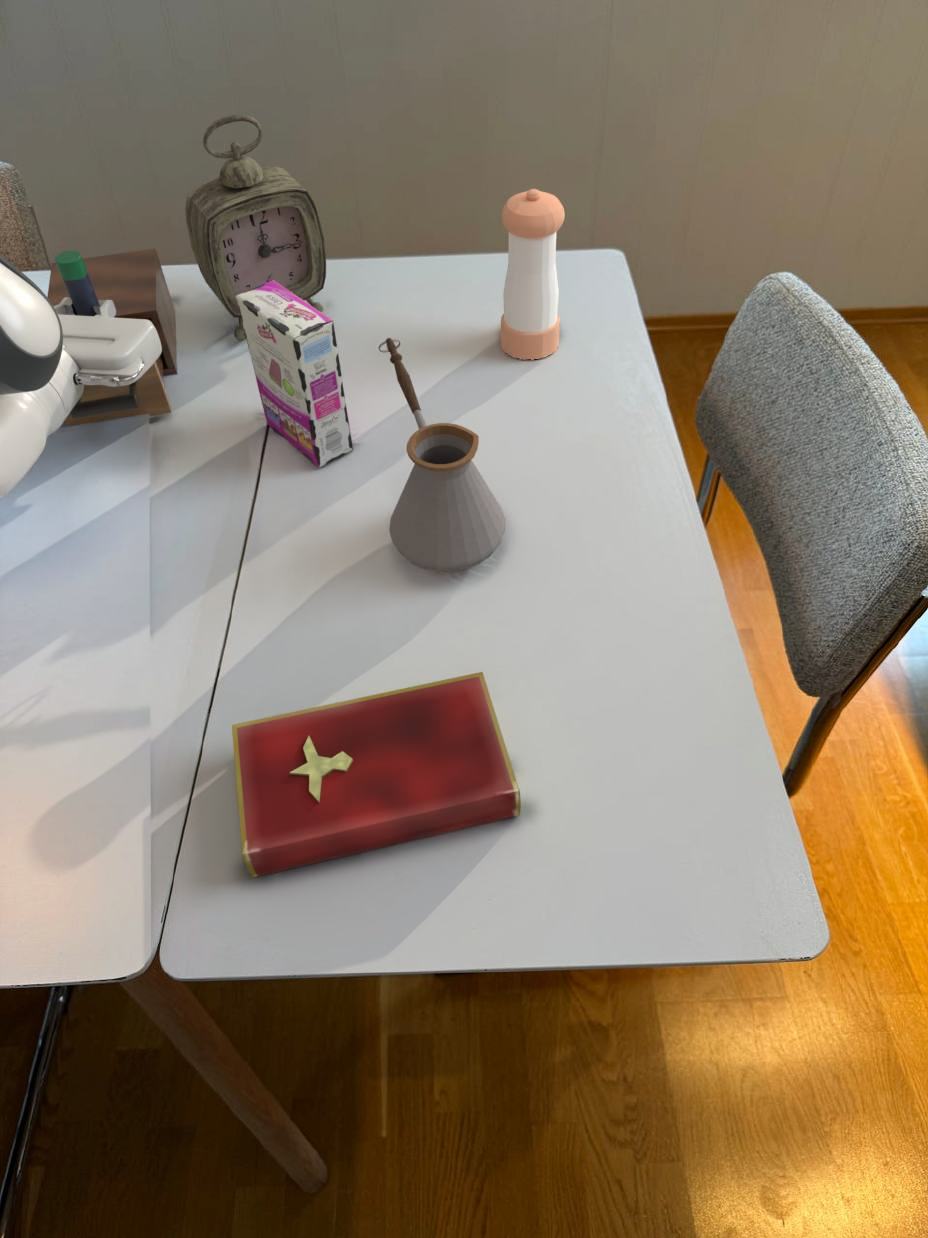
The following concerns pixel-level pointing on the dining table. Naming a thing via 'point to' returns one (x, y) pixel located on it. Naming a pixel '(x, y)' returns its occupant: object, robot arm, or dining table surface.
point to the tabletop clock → (254, 228)
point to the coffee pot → (443, 494)
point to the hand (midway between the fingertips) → (91, 304)
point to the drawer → (123, 398)
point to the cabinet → (130, 293)
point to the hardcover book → (370, 773)
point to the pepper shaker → (531, 275)
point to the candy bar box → (297, 371)
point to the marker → (77, 282)
